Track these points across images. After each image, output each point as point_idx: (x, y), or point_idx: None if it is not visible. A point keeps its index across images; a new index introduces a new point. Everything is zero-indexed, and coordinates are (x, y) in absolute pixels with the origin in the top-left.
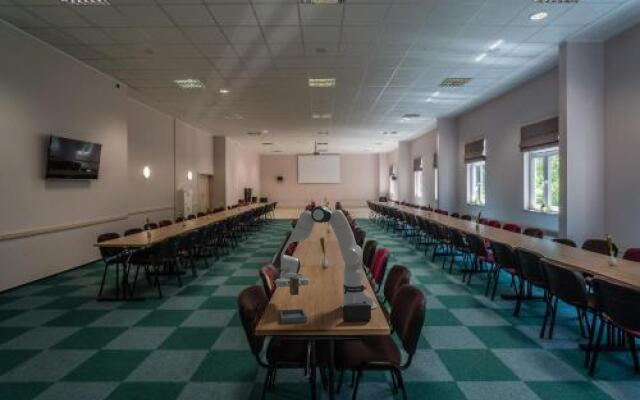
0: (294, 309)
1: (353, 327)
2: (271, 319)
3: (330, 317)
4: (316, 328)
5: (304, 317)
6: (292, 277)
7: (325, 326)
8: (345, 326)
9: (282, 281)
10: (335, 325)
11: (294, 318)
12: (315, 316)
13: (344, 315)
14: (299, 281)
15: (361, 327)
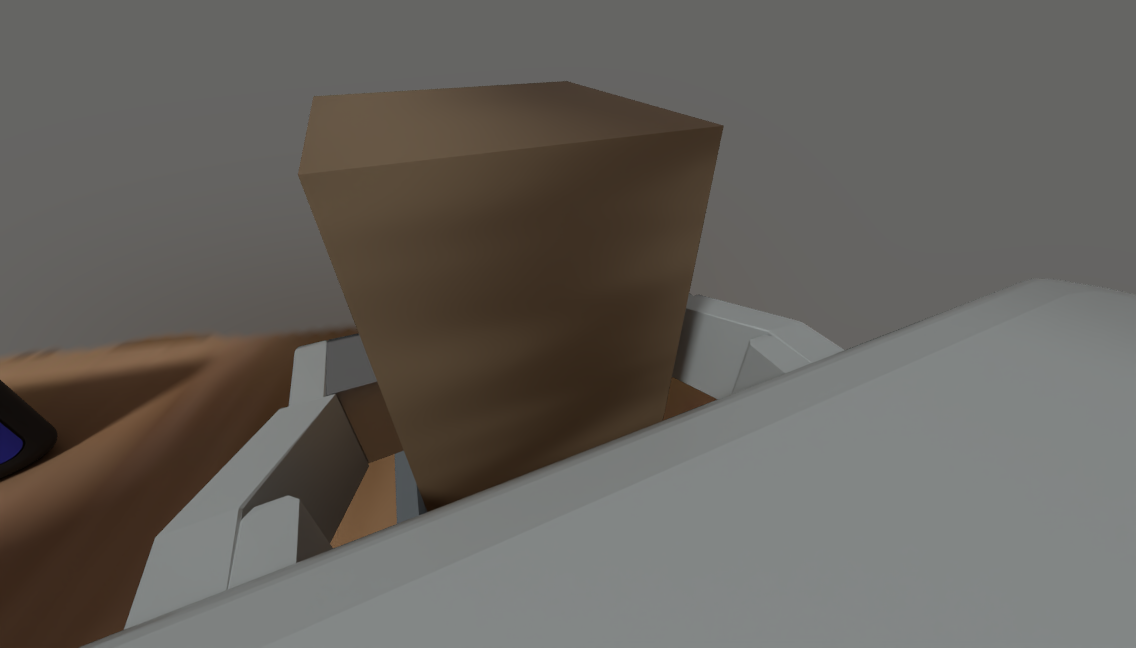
0: None
1: (82, 364)
2: (691, 405)
3: (118, 532)
4: (355, 328)
5: None
6: (565, 108)
7: (283, 355)
8: (130, 370)
9: (946, 311)
10: (197, 375)
11: None
12: None
13: (18, 400)
14: (227, 567)
15: (17, 370)
